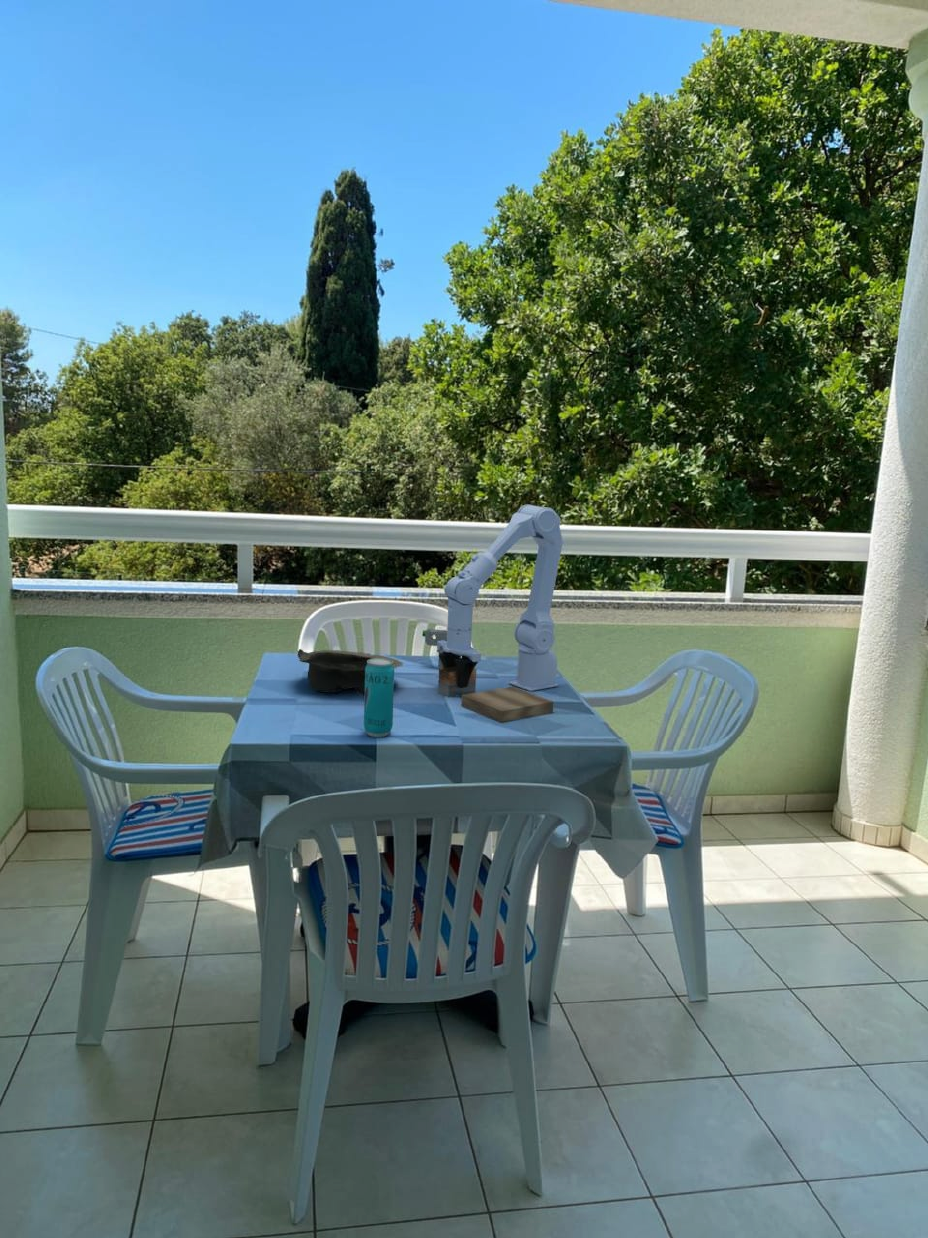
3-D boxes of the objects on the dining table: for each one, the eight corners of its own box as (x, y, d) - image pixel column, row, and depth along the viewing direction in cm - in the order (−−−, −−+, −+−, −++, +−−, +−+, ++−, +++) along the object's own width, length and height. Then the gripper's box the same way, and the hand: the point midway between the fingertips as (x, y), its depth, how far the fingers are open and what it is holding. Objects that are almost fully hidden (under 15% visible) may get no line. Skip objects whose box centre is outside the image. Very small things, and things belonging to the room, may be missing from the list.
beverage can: (364, 728, 185) (365, 657, 182) (392, 729, 186) (394, 658, 183) (363, 738, 180) (365, 664, 177) (392, 738, 180) (394, 665, 177)
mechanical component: (459, 671, 234) (460, 634, 232) (420, 668, 236) (421, 630, 234) (461, 669, 237) (463, 631, 235) (423, 665, 238) (424, 628, 236)
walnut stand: (512, 696, 213) (512, 686, 213) (552, 712, 203) (553, 701, 202) (461, 705, 204) (461, 695, 204) (501, 722, 193) (501, 711, 193)
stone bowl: (289, 699, 203) (290, 658, 202) (305, 678, 228) (305, 641, 227) (400, 701, 204) (401, 660, 203) (404, 680, 229) (404, 643, 228)
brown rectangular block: (464, 688, 219) (466, 664, 217) (475, 693, 215) (476, 668, 214) (438, 693, 214) (439, 668, 213) (448, 697, 211) (449, 672, 209)
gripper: (427, 624, 215) (425, 679, 217) (464, 636, 203) (462, 694, 206) (451, 621, 219) (449, 676, 222) (489, 633, 208) (486, 690, 210)
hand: (457, 684), depth 214 cm, fingers closed on brown rectangular block, 4 cm apart
